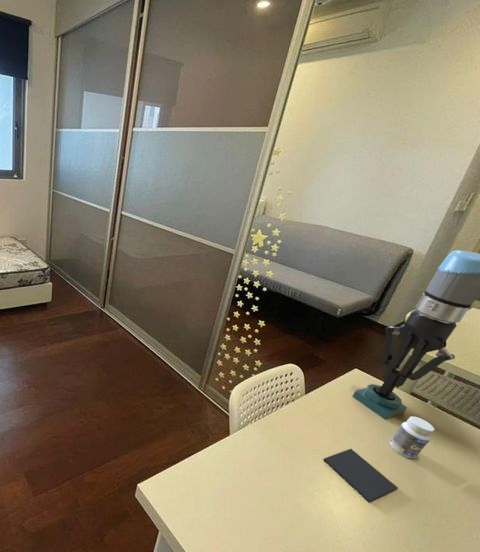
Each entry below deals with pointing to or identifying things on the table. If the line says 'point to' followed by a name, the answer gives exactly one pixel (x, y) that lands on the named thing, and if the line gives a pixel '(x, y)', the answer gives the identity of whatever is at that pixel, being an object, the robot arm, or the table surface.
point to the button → (387, 396)
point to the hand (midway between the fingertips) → (384, 391)
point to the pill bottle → (411, 437)
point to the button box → (379, 402)
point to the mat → (360, 475)
